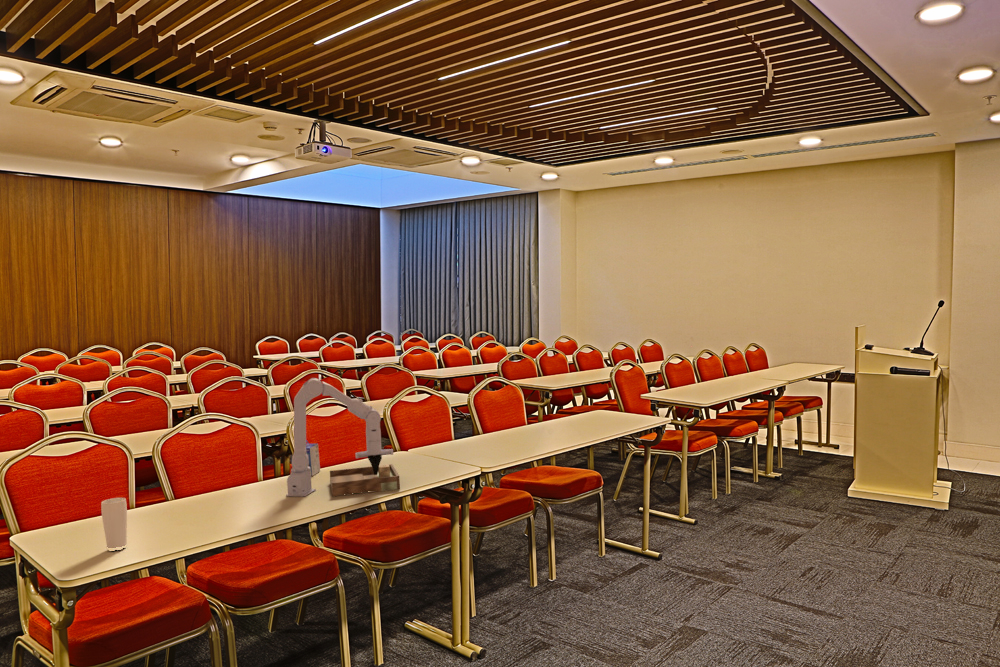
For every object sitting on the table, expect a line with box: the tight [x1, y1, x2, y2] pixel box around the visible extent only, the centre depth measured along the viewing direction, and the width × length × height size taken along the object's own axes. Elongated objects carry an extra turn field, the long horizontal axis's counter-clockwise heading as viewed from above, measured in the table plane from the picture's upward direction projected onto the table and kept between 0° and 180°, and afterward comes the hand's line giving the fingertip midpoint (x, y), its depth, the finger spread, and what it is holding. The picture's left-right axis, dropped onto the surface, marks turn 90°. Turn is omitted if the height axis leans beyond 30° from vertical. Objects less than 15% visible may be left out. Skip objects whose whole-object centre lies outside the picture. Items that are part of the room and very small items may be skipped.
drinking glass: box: [100, 497, 128, 548], centre depth 219 cm, size 7×7×15 cm
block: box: [378, 464, 390, 478], centre depth 285 cm, size 4×4×4 cm
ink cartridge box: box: [306, 439, 321, 477], centre depth 308 cm, size 10×6×14 cm, turn 174°
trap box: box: [329, 463, 401, 497], centre depth 283 cm, size 25×22×5 cm
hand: (375, 474), depth 284 cm, fingers closed
